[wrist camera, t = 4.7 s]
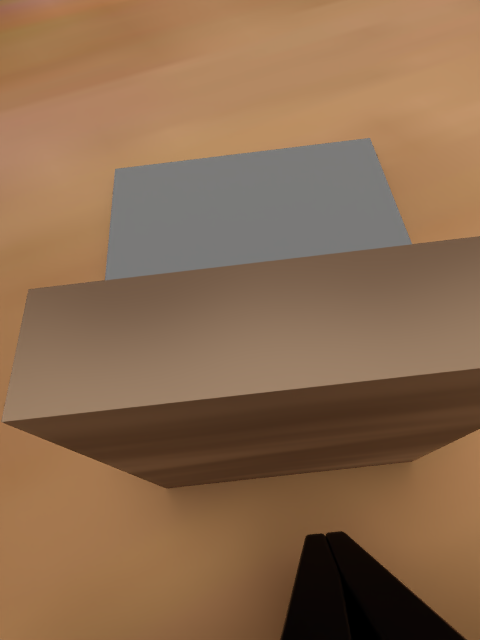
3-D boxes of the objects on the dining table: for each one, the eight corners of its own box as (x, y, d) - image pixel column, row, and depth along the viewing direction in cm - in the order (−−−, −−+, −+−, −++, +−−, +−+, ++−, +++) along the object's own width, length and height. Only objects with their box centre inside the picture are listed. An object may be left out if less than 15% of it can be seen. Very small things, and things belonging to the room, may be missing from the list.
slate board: (452, 365, 17) (458, 360, 17) (99, 405, 17) (93, 401, 17) (367, 146, 24) (369, 138, 24) (118, 176, 25) (115, 169, 24)
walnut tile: (411, 461, 16) (643, 349, 6) (166, 488, 16) (1, 422, 6) (393, 397, 17) (558, 220, 7) (166, 423, 17) (30, 282, 7)
